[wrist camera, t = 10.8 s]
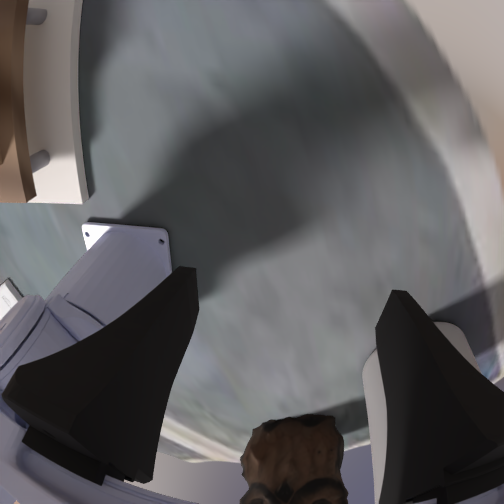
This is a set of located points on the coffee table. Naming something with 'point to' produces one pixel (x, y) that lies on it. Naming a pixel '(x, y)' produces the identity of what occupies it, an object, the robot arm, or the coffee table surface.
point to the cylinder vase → (378, 401)
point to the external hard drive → (8, 297)
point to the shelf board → (13, 106)
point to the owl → (295, 462)
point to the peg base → (54, 101)
